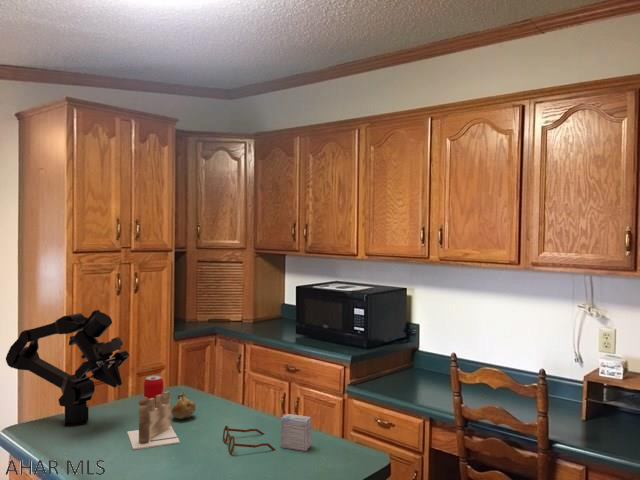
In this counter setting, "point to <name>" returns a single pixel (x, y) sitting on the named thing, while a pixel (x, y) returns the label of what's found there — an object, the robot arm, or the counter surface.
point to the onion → (183, 407)
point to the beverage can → (153, 387)
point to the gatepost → (144, 420)
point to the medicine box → (296, 432)
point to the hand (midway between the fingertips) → (118, 385)
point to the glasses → (242, 444)
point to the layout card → (154, 439)
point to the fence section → (159, 414)
